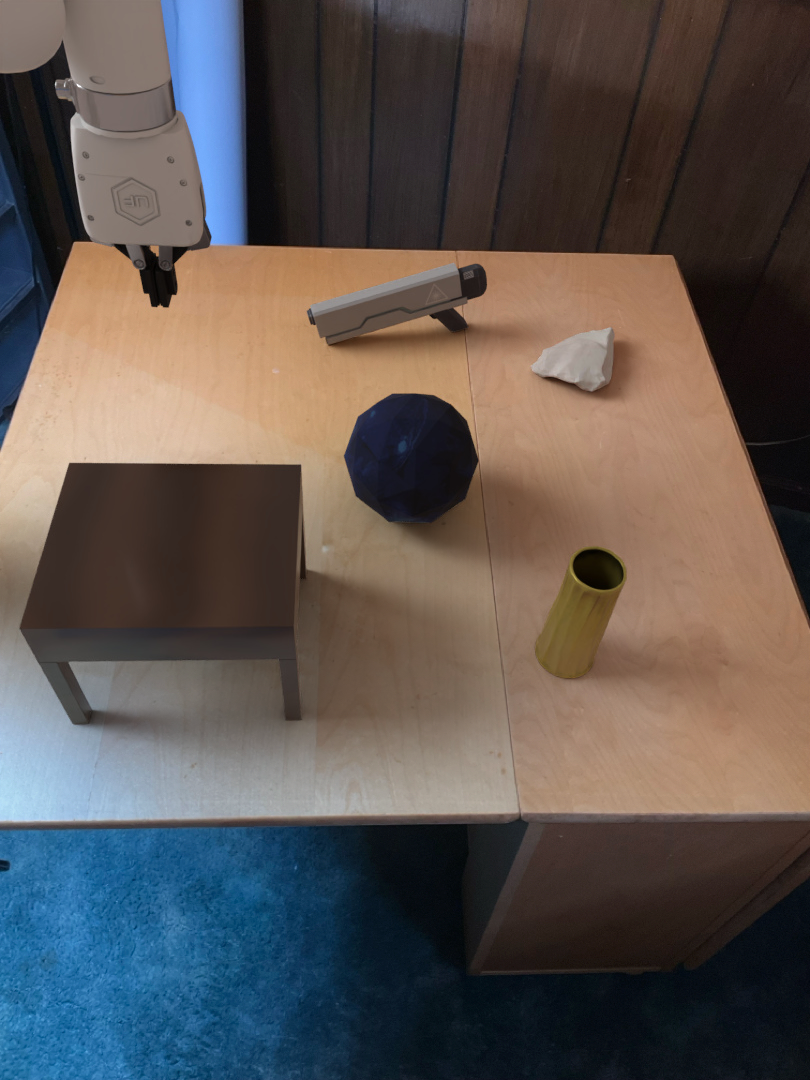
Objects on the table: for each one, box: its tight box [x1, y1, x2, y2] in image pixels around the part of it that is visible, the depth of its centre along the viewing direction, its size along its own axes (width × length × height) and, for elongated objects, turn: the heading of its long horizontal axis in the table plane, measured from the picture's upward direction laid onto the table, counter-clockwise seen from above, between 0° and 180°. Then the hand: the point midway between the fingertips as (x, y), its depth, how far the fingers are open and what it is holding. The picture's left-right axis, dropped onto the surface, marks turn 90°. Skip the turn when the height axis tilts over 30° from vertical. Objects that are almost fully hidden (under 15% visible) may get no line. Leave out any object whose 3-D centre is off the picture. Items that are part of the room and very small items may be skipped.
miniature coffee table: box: [18, 462, 308, 725], centre depth 75 cm, size 21×20×16 cm
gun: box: [306, 262, 488, 346], centre depth 112 cm, size 2×25×10 cm, turn 104°
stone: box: [530, 326, 616, 393], centre depth 112 cm, size 11×4×15 cm
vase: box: [534, 545, 628, 679], centre depth 77 cm, size 6×6×14 cm
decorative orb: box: [343, 392, 480, 524], centre depth 89 cm, size 14×15×15 cm
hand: (162, 298), depth 78 cm, fingers closed
